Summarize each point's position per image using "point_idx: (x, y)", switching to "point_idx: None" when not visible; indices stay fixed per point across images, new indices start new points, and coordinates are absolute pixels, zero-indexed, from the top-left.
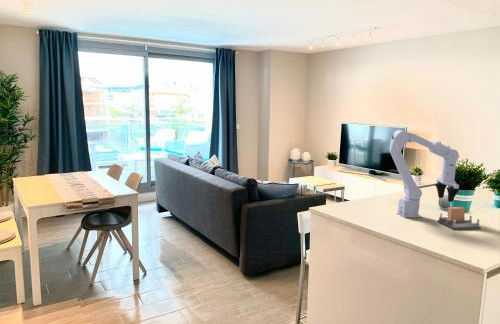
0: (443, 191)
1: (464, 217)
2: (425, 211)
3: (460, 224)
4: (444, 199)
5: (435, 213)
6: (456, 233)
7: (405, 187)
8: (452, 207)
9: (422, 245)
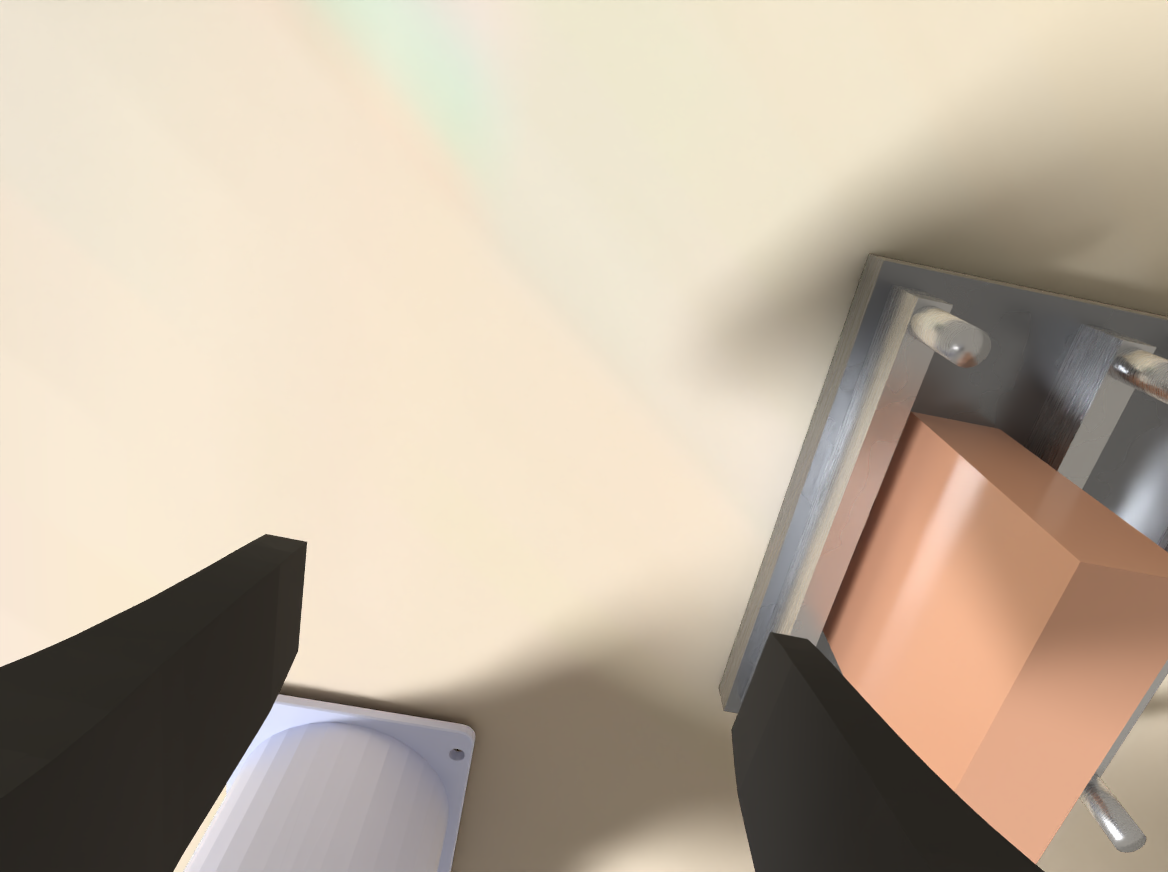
0: (174, 699)
1: (949, 310)
2: (146, 423)
3: (1139, 704)
4: None
5: (290, 341)
6: (1148, 798)
7: None
8: (988, 799)
9: None
